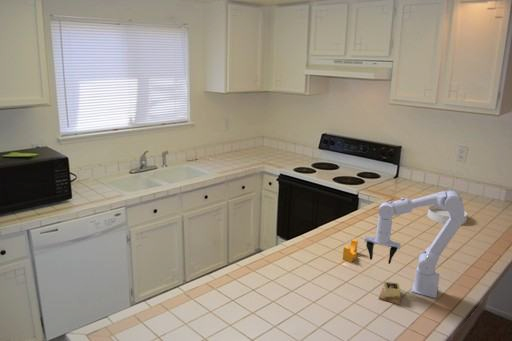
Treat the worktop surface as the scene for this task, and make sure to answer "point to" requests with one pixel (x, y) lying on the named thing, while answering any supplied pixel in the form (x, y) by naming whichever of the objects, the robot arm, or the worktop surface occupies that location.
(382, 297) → the shaft block
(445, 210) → the dish
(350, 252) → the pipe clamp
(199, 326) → the worktop surface
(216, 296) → the worktop surface
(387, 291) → the collar
